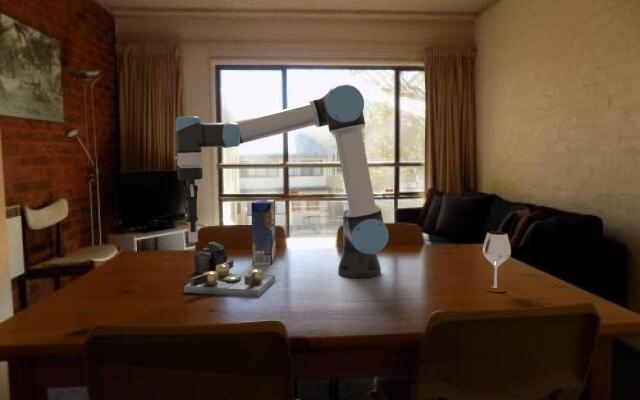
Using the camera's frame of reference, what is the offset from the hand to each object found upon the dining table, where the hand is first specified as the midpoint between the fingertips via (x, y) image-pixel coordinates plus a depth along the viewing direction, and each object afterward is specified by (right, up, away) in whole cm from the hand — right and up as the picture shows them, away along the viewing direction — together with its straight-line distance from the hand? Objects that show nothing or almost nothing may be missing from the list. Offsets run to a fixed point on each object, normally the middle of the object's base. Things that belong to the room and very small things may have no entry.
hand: (193, 241), depth 152 cm
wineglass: (+95, -15, -1) cm, 96 cm away
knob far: (+8, -12, +12) cm, 19 cm away
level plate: (+11, -15, +4) cm, 19 cm away
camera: (0, -13, +27) cm, 30 cm away
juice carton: (+18, -11, +39) cm, 45 cm away
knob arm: (+19, -13, -1) cm, 23 cm away
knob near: (+4, -13, -3) cm, 14 cm away
